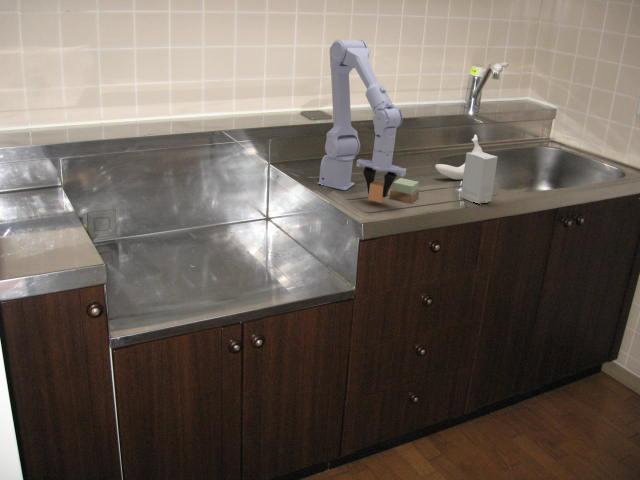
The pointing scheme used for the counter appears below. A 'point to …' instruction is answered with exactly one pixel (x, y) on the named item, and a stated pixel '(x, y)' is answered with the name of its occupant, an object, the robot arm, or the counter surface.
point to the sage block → (405, 186)
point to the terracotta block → (376, 191)
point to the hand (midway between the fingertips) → (377, 194)
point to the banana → (456, 171)
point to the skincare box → (478, 177)
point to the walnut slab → (404, 196)
